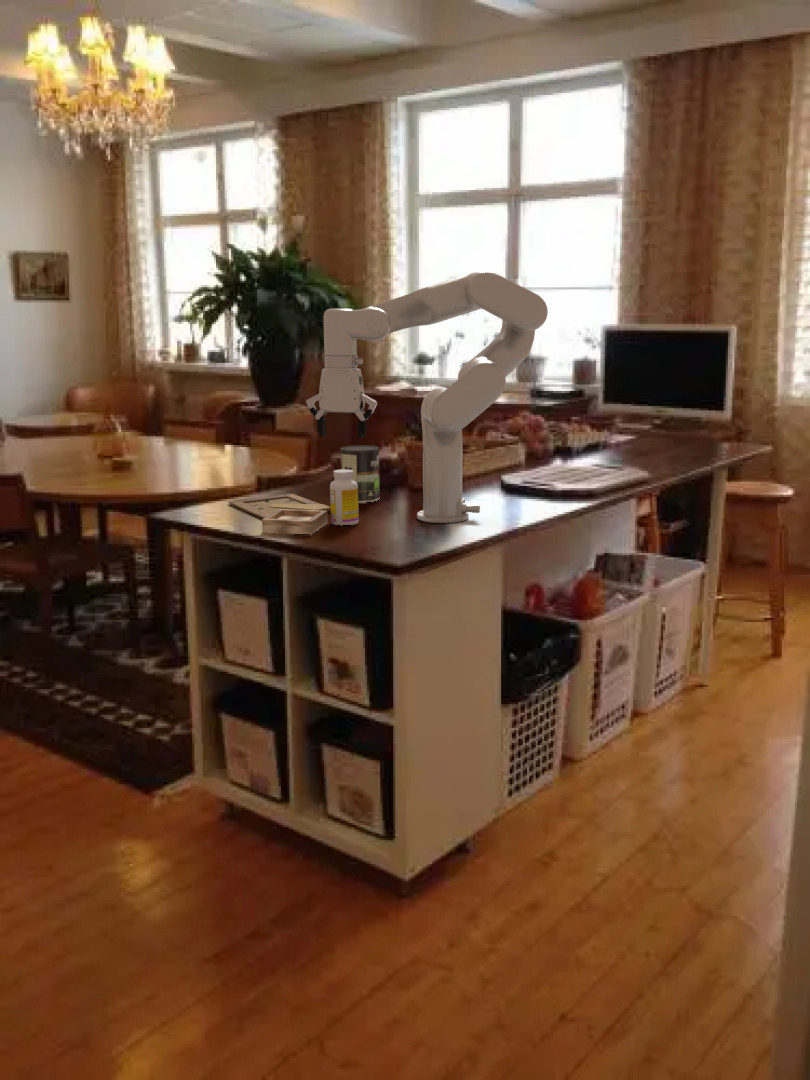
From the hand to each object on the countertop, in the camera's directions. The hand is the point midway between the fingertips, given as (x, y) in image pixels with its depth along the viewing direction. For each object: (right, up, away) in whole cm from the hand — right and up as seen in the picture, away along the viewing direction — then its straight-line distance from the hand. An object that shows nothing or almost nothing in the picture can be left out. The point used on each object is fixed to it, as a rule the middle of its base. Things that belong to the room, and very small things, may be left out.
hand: (341, 436), depth 230 cm
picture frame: (-18, -17, +23) cm, 33 cm away
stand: (-11, -22, 0) cm, 24 cm away
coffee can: (+3, -14, +31) cm, 35 cm away
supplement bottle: (0, -21, +4) cm, 21 cm away
